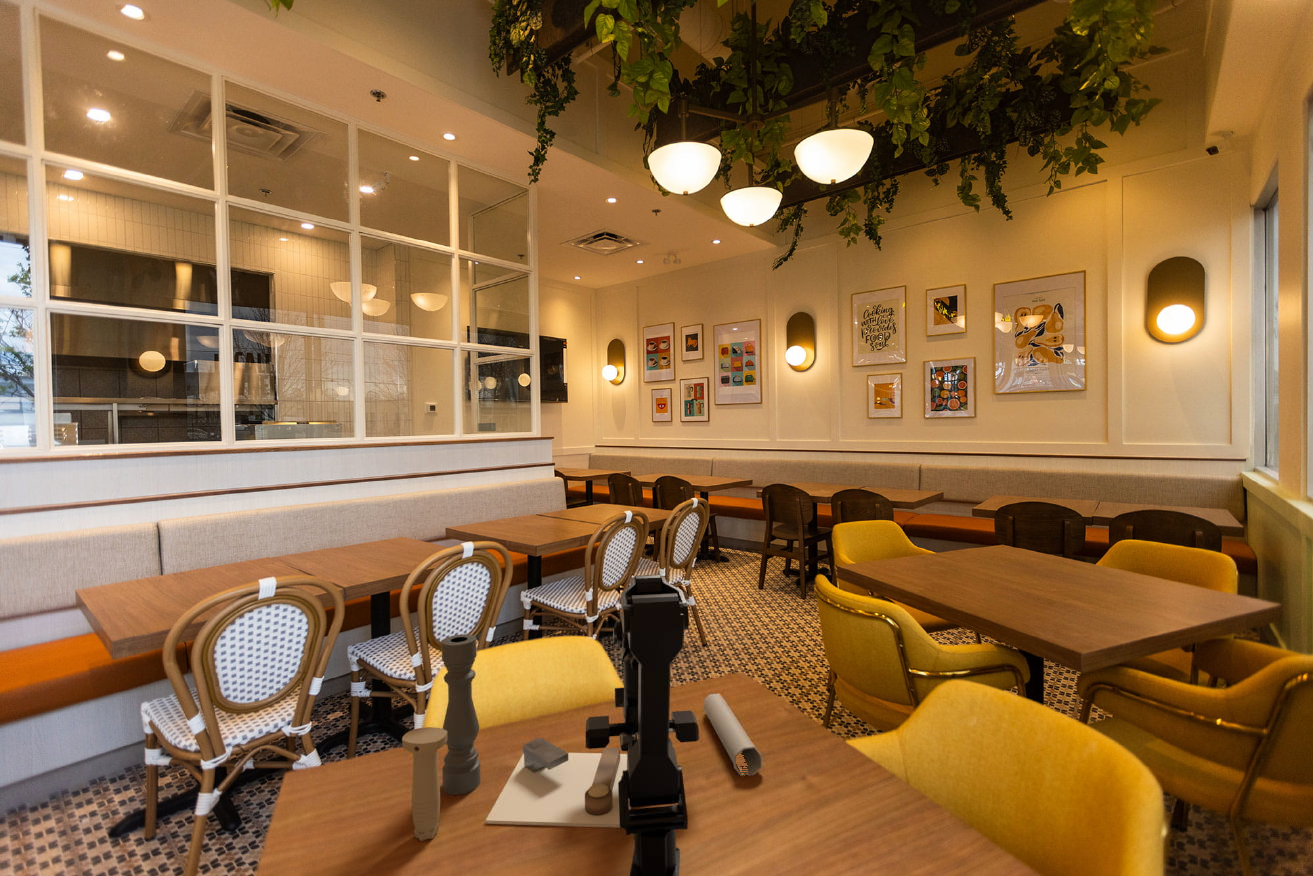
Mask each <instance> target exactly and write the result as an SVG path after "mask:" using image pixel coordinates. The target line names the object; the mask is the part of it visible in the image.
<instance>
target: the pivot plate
mask: <svg viewBox="0 0 1313 876" xmlns="http://www.w3.org/2000/svg"><path fill="white" fill-rule="evenodd" d="M522 753H523V752H522ZM567 753H568V761H566V762H564V763H562V764H560V765H558V766H556V767H554V768H552V769H550V770H549V769H547V768H546V767H545V768H543V769H541V770H538V771H536V772H534V773H533V772H532V771H530V770H529V769H527V768H526V767H524V753H523V754H522V755H521V757H520V759H519V761H518V763H517V764H516V766H515V768H514V770H513V771H512V773H511V775H510V777H509V778H508V780H507V781H506V784H505V786H504V787H503V789H502V790H501V792H500V794H499V796H498V798H497V799H496V802H495V803H494V805H493V806H492V809H491V810H490V811H489V813H488V816H487V817H486V819H485V824H488V825H489V824H490V825H491V824H492V825H519V826H521V825H524V826H526V825H527V826H549V827H550V826H551V827H552V826H554V827H584V828H585V827H586V828H591V827H592V828H614V829H615V828H616V829H617V828H620V829H622V828H621V827H620V821H619V793H618V782H619V781H620V780H621V776H622V772H623V770H627V753H620V762H619V766H618V770H617V774H616V778H615V782H614V786H613V790H612V797H613V807H612V809H611V810H610V811H609V812H608V813H606V814H603V815H591V814H589V813H587V812H586V810H585V792H586V791H587V790H588V789H589V790H588V793H589V795H590V796H592V797H595V798H599V797H603V796H605V795H607V794H608V792H609V788H608V786H606V785H604V784H595V785H592V784H593V780H594V777H595V774H596V771H597V768H598V765H599V761H600V758H601V755H602V753H601V752H599V753H598V752H597V753H595V752H592V753H591V752H567ZM628 802H629V799H628ZM629 809H632V808H631V807H630V806H629Z"/></svg>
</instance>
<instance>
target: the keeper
mask: <svg viewBox="0 0 1313 876" xmlns="http://www.w3.org/2000/svg"><path fill="white" fill-rule="evenodd" d="M522 753H524V767H526V768H527V769H529V770H530V771H532V772H533V773H534V772H536V771H538V770H541V769H543V768H545V767H546V768H547V769H549V770H550V769H552V768H554V767H556V766H558V765H560V764H562V763H564V762H566V761H568V753H569V752H566V751H565V750H563V749H561V748H560V747H559V746H556V745H555V744H554V743H551V742H550V741H547V740H546V739H544V738H543V737H541V738H540V737H537V738H535V739H533V740H530V741H528V742H526V743H524V744H523V746H522Z"/></svg>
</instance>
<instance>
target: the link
mask: <svg viewBox="0 0 1313 876" xmlns="http://www.w3.org/2000/svg"><path fill="white" fill-rule="evenodd" d="M602 749H603V750H602V751H601V752H602V755H601V758H600V761H599V765H598V768H597V771H596V774H595V777H594V780H593V784H592V785H595V784H604V785H606V786H608V788H609V792H608V794H607V795H605V796H603V797H599V798H595V797H592V796H590V795H589V793H588V790H589V789H588V790H587V791H586V792H585V810H586V812H587V813H589V814H591V815H603V814H606V813H608V812H609V811H610V810H611V809H612V807H613V797H612V790H613V786H614V782H615V778H616V774H617V770H618V766H619V762H620V754H621V747H605V748H602Z"/></svg>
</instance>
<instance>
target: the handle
mask: <svg viewBox="0 0 1313 876" xmlns="http://www.w3.org/2000/svg"><path fill="white" fill-rule="evenodd" d="M401 741H402V742H401V745H402V749H404V750H406V752H409V753H411V754H412V757H413V758H412V759H413V760H412V761H413V763H412V785H411V786H412V789H411V811H412V813H411V814H412V821H413V822H412V823H413V827H414V828H413V832H414V836H415V838H416V839H417V838H418V840H419V841H420V842H424V841H426V840H430V839H434V837H435V836H436V835H437V833H438V832H439V826H440V823H439V819H440V814H441V813H440V811H441V808H440V807H441V790H440V789H441V788H440V779H439V777H440V776H439V762H438V750H440V749H441V748H442V747H444V746H445V745H446V742H447V730H444V729H443V728H441V727H433V726H432V727H430V726H429V727H427V726H425V727H420V728H413V729H411V730H409V731H408V732H405V734H403V736H402V738H401Z"/></svg>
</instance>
